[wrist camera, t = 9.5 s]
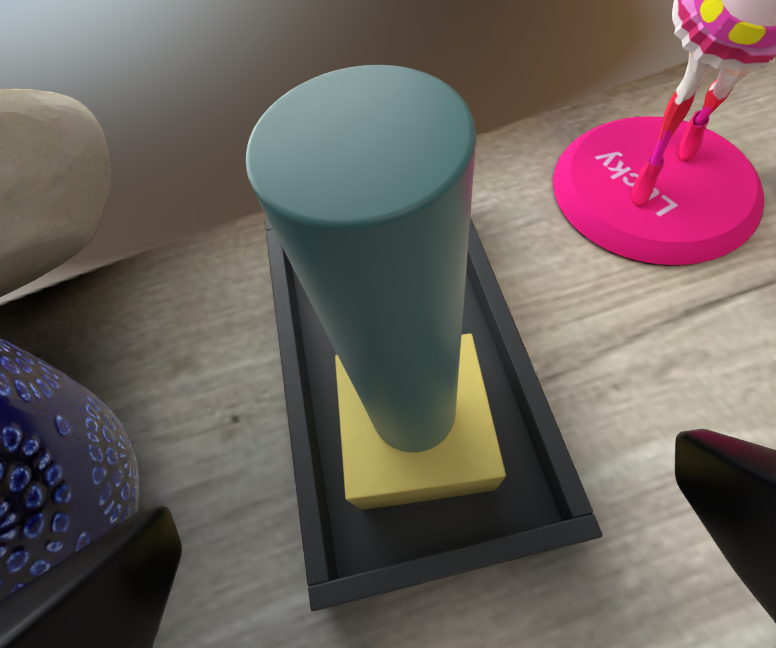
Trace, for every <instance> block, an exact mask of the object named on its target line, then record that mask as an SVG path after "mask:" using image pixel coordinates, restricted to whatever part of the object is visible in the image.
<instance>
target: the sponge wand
mask: <svg viewBox="0 0 776 648" xmlns="http://www.w3.org/2000/svg"><path fill="white" fill-rule="evenodd" d="M475 143H476V133H475V126H474V122H473V118H472V116H471V113H470V111H469V109H468V107H467V105H466V104H465V102H464V101H463V99H462V98H461V97H460V95H459V94H458V93H457V92H456V91H455V90H454V89H452V88H451V87H450V86H449V85H447V84H446V83H444V82H443V81H441V80H439V79H438V78H436V77H434V76H431V75H429V74H427V73H424V72H421V71H418V70H415V69H411V68H406V67H399V66H391V65H366V66H357V67H350V68H345V69H340V70H336V71H333V72H330V73H326V74H323V75H320V76H318V77H315V78H313V79H310V80H309V81H306V82H304V83H302V84H301V85H299V86H297V87H295V88H294V89H292V90H291V91H289V92H287V93H286V94H285V95H283V96H282V97H281V98H279V99H278V100H277V101H276V102H275V103H274V104H273V105H272V106H270V107H269V109H268V110H267V111H266V112H265V113H264V114H263V115H262V117H261V118H260V120H259V121H258V123H257V124H256V126H255V127H254V130H253V132H252V134H251V136H250V139H249V142H248V146H247V153H246V169H247V174H248V178H249V182H250V184H251V186H252V188H253V190H254V192H255V194H256V196H257V198H258V200H259V202H260V204H261V206H262V208H263V210H264V212H265V214H266V216H267V218H268V220H269V222H270V224H271V226H272V228H273V230H274V232H275V233H276V235H277V237H278V239H279V241H280V243H281V245H282V247H283V249H284V251H285V253H286V255H287V257H288V259H289V261H290V263H291V265H292V267H293V269H294V271H295V273H296V275H297V277H298V279H299V281H300V282H301V284H302V286H303V288H304V290H305V292H306V294H307V296H308V298H309V300H310V302H311V304H312V306H313V308H314V310H315V312H316V314H317V316H318V318H319V320H320V322H321V324H322V326H323V328H324V330H325V331H326V333H327V335H328V337H329V339H330V341H331V343H332V345H333V347H334V349H335V351H336V353H337V355H336V356H335V361H336V375H337V388H338V402H339V415H340V429H341V443H342V456H343V470H344V483H345V497H346V500H347V501H349V502H350V503H352V504H353V505H355V506H356V507H358V508H359V509H361V510H368V509H374V508H381V507H388V506H395V505H402V504H408V503H415V502H422V501H429V500H436V499H443V498H449V497H456V496H463V495H470V494H477V493H483V492H490V491H495V490H497V488H498V487H499V485H500V484H501V482H502V481H503V479H504V478H505V477H506V473H505V469H504V465H503V461H502V457H501V453H500V448H499V444H498V440H497V436H496V432H495V428H494V423H493V419H492V415H491V411H490V407H489V403H488V398H487V394H486V390H485V386H484V382H483V378H482V374H481V369H480V365H479V361H478V357H477V353H476V349H475V344H474V340H473V336H472V334H464V335H462V321H463V307H464V294H465V280H466V266H467V253H468V239H469V225H470V212H471V198H472V184H473V171H474V157H475Z"/></svg>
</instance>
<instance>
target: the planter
mask: <svg viewBox="0 0 776 648" xmlns="http://www.w3.org/2000/svg"><path fill="white" fill-rule="evenodd" d="M138 503H139V474H138V466H137V460H136V456H135V453H134V449H133V447H132V444H131V442H130V439H129V437H128V434H127V432H126V430H125V428H124V426H123V425H122V423H121V421H120V420H119V419H118V417H117V416H116V415H115V414H114V412H113V411H112V410H111V409H110V408H109V407H108V406H107V405H106V404H105V403H104V402H103V401H102V400H101V399H100V398H99V397H97V396H96V395H95V394H94V393H93V392H91V391H90V390H88V389H87V388H85V387H84V386H82V385H81V384H79V383H78V382H76V381H75V380H74V379H72V378H71V377H69V376H67V375H66V374H64V373H63V372H61V371H59V370H58V369H56V368H54V367H53V366H51V365H50V364H48V363H46V362H45V361H43V360H41V359H40V358H38V357H36V356H34V355H32V354H30V353H29V352H27V351H25V350H23V349H21V348H19V347H18V346H16V345H14V344H12V343H10V342H8V341H7V340H5V339H3V338H1V337H0V600H2V599H3V598H5V597H6V596H8V595H9V594H11V593H13V592H14V591H16V590H17V589H19V588H20V587H22V586H23V585H25V584H27V583H28V582H30V581H31V580H33V579H34V578H36V577H37V576H39V575H40V574H42V573H44V572H45V571H47V570H48V569H50V568H51V567H53V566H54V565H56V564H57V563H59V562H61V561H62V560H64V559H65V558H67V557H68V556H70V555H71V554H73V553H74V552H76V551H78V550H79V549H81V548H82V547H84V546H85V545H87V544H88V543H90V542H91V541H93V540H95V539H96V538H98V537H99V536H101V535H102V534H104V533H105V532H107V531H108V530H110V529H112V528H113V527H115V526H116V525H118V524H119V523H121V522H122V521H124V520H125V519H127V518H129V517H130V516H132V515H133V514H135V513H136V512H137V511H138Z"/></svg>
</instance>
